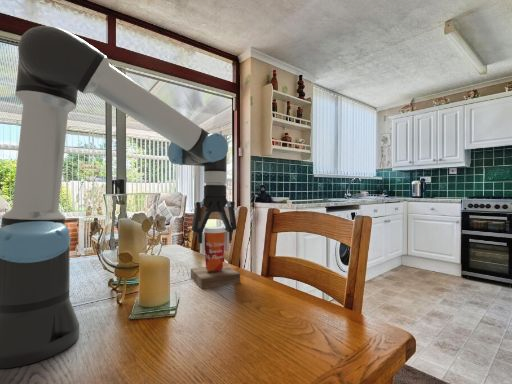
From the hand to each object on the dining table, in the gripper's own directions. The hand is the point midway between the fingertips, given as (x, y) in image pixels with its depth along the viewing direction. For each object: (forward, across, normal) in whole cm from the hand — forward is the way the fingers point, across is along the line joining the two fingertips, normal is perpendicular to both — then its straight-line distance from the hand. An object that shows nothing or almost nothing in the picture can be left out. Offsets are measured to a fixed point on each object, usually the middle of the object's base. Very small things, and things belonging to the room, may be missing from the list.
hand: (214, 251), depth 96 cm
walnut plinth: (+10, 0, 0) cm, 10 cm away
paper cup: (+6, 0, 0) cm, 6 cm away
